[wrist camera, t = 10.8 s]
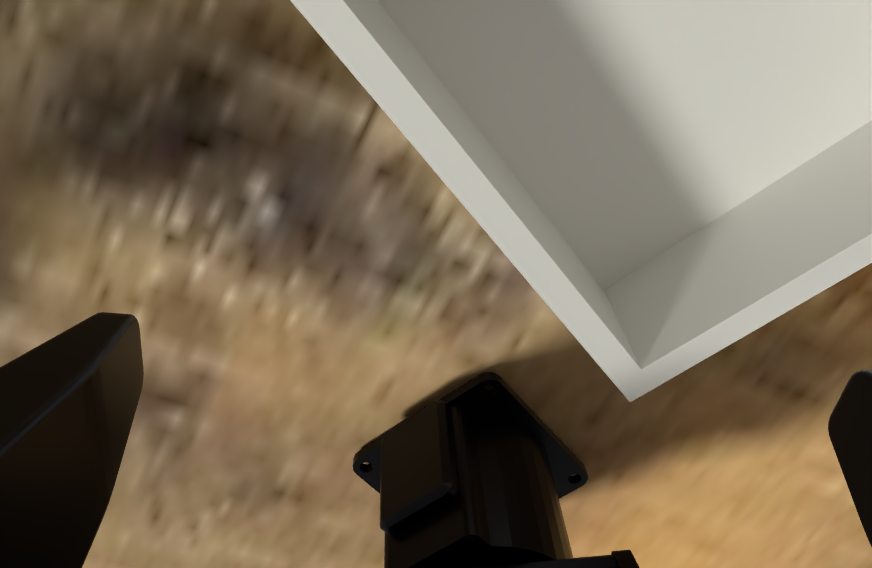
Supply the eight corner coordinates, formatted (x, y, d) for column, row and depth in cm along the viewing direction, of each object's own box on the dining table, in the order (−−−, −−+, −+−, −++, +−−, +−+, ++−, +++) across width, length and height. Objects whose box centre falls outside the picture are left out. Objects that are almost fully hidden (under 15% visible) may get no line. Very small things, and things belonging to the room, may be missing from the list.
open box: (1004, 39, 21) (1165, 92, 16) (588, 303, 24) (630, 402, 20) (812, -516, 15) (984, -660, 10) (303, -51, 18) (276, -17, 14)
